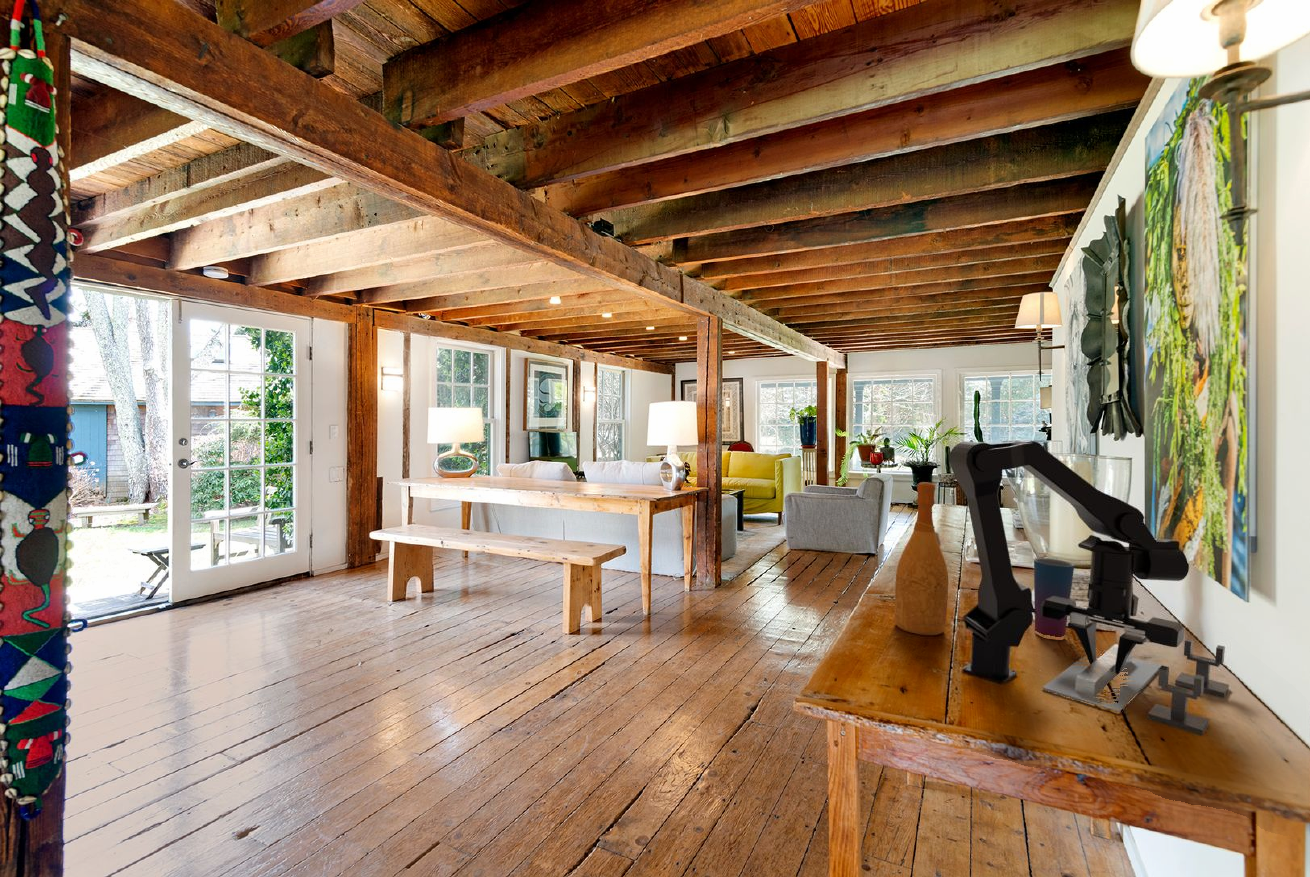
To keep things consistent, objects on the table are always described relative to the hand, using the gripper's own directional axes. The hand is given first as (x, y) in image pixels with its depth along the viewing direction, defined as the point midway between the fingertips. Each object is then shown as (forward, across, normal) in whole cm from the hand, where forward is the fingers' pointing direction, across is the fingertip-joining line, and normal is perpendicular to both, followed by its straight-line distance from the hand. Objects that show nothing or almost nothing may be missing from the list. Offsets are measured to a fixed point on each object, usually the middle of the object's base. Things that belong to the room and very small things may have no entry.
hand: (1105, 670), depth 104 cm
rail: (+1, 0, 0) cm, 1 cm away
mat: (+2, 0, 0) cm, 2 cm away
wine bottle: (+2, +31, +2) cm, 31 cm away
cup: (+2, +13, -16) cm, 21 cm away
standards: (+2, -11, 0) cm, 11 cm away
